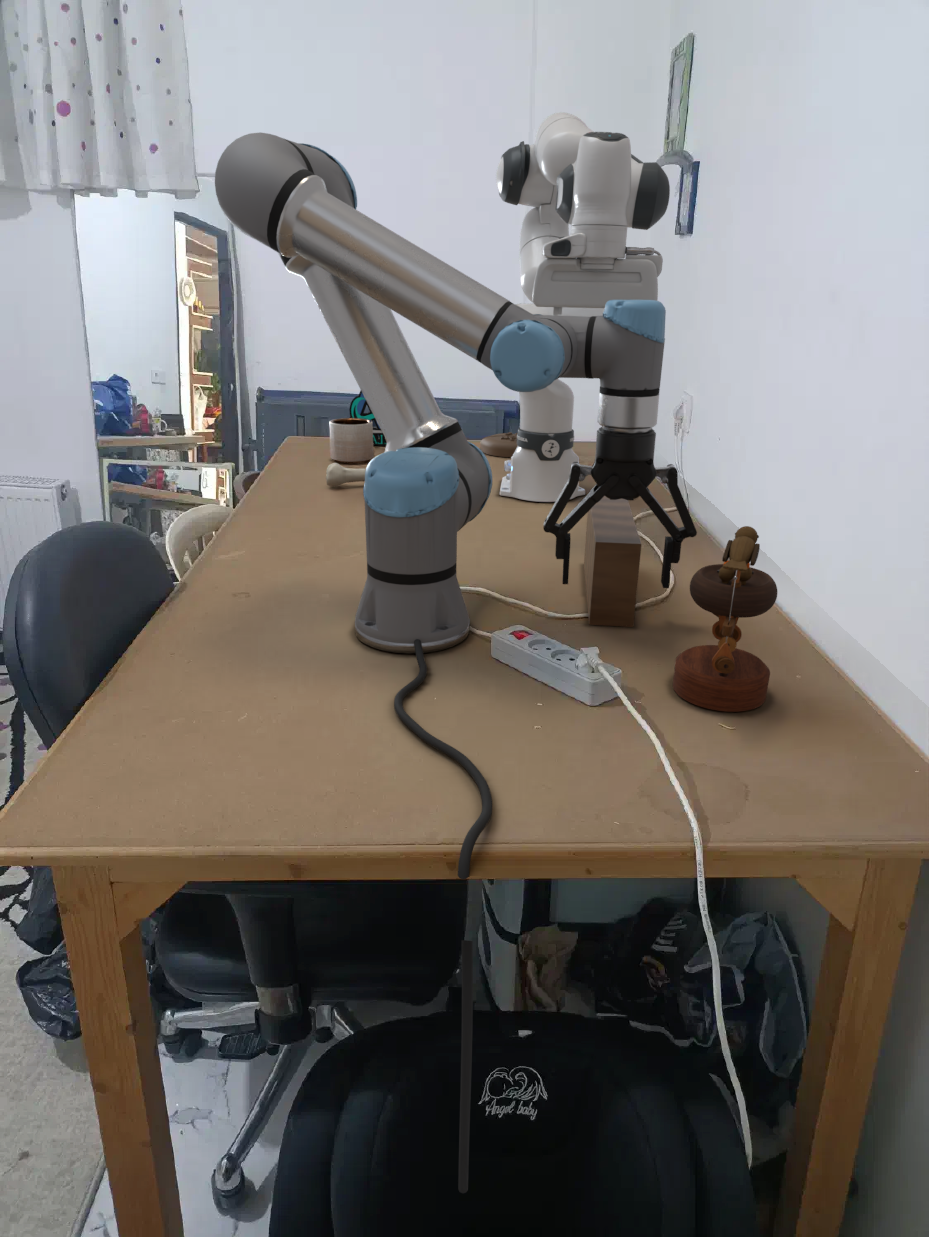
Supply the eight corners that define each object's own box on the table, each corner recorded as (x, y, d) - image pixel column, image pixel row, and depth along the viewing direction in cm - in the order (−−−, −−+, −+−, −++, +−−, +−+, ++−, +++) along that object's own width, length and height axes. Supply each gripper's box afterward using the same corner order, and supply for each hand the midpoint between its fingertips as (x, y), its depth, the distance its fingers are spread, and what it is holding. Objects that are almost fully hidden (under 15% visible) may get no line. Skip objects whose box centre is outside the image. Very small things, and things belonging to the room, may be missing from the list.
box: (633, 627, 116) (641, 544, 111) (589, 624, 116) (595, 541, 112) (620, 567, 139) (626, 496, 135) (583, 565, 140) (588, 494, 135)
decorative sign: (401, 444, 234) (401, 388, 228) (400, 446, 231) (399, 390, 226) (333, 442, 235) (331, 387, 229) (332, 444, 232) (329, 388, 227)
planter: (327, 456, 217) (325, 418, 214) (369, 454, 220) (368, 417, 217) (334, 465, 208) (332, 425, 204) (377, 463, 211) (376, 424, 207)
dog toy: (415, 481, 193) (415, 459, 191) (418, 487, 188) (418, 465, 186) (325, 483, 190) (324, 461, 188) (326, 489, 184) (325, 466, 182)
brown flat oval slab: (485, 467, 208) (485, 449, 207) (478, 445, 234) (478, 430, 233) (570, 467, 209) (571, 450, 208) (554, 445, 235) (554, 430, 234)
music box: (784, 722, 91) (798, 544, 84) (680, 722, 93) (685, 548, 85) (755, 661, 105) (765, 505, 98) (665, 663, 107) (668, 509, 99)
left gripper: (720, 425, 111) (702, 577, 119) (530, 420, 113) (525, 570, 121) (731, 434, 104) (711, 596, 112) (528, 430, 106) (523, 588, 114)
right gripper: (661, 248, 137) (652, 337, 142) (535, 246, 139) (531, 334, 144) (666, 247, 131) (657, 340, 136) (534, 245, 133) (530, 337, 138)
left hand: (614, 583), depth 117 cm, fingers open, 13 cm apart
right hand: (591, 337), depth 140 cm, fingers open, 8 cm apart
